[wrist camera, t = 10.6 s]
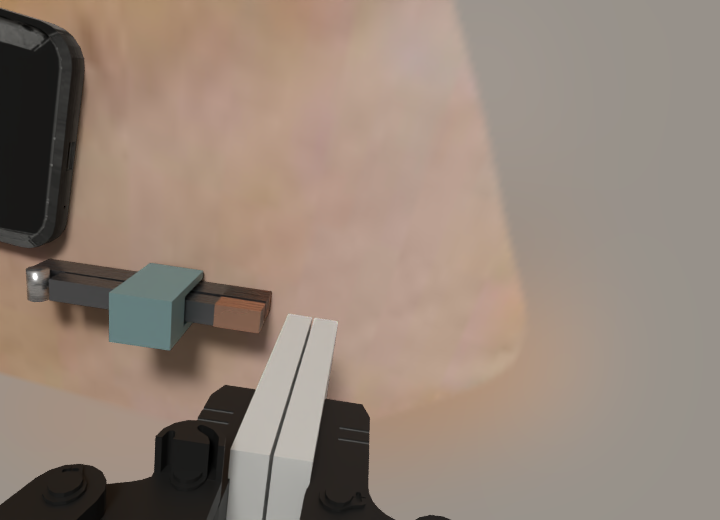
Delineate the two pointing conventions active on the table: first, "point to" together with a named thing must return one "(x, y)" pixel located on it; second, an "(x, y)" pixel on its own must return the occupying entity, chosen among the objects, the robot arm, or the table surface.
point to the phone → (36, 127)
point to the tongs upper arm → (97, 290)
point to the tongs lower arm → (123, 275)
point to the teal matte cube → (151, 306)
